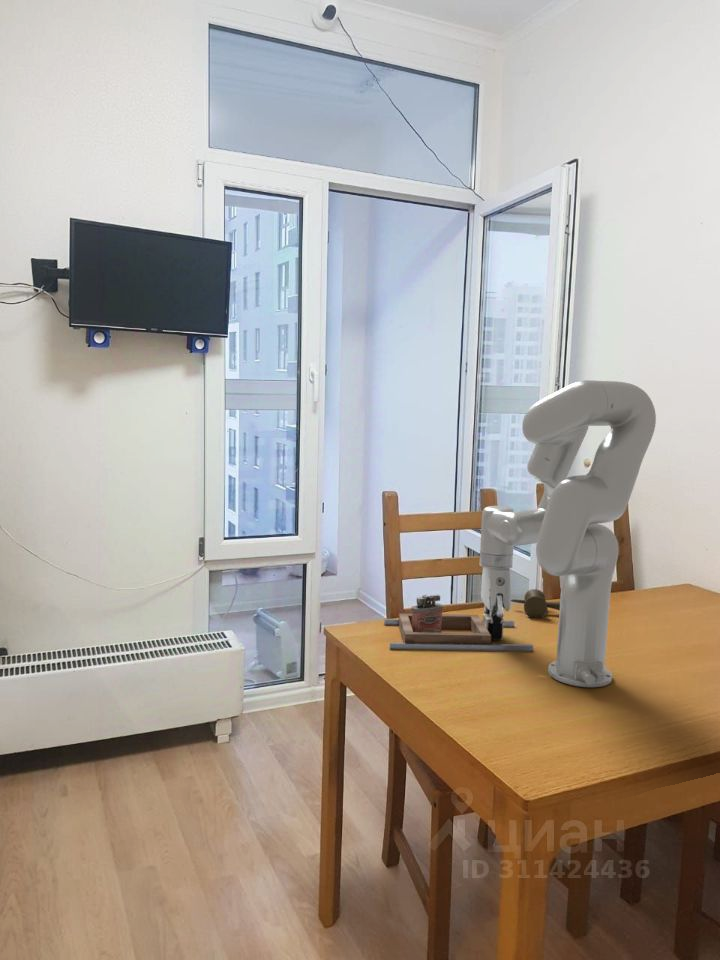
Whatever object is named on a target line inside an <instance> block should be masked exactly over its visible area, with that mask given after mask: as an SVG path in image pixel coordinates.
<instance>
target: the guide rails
mask: <svg viewBox="0 0 720 960" xmlns="http://www.w3.org/2000/svg"><path fill="white" fill-rule="evenodd" d="M383 620H385V621H384V622H383V625H384V626H399V618H383ZM482 620H483V619H481V621H482ZM503 628H515V621H514V620H504V621H503ZM389 650H409V651H410V650H418V651H420V650H422V651H423V650H424V651H425V650H426V651H428V650H429V651H480V652H481V651H482V652H483V651H485V652H486V651H489V652H490V651H491V652H493V651H496V652H497V651H498V652H533V651H534V645H533V644H525V643H524V644H523V643H522V644H520V643H519V644H517V643H511V644H510V643H502V644H501V643H491V644H465V643H403V642H400V641H398V642H395V641H394V642H389Z"/></svg>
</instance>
